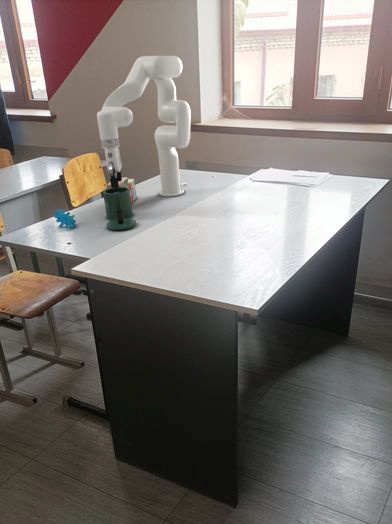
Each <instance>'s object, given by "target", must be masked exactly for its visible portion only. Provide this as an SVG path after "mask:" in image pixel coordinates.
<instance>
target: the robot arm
mask: <svg viewBox="0 0 392 524" xmlns="http://www.w3.org/2000/svg"><path fill="white" fill-rule="evenodd" d="M182 62H183V61H182V60H181V59H180V57H179V56H177V55H142V56H139V57H138V58H137V59H136V60H135V62H134V64H133V66H132V67H131V69H130V71H129V73H128V75H127V77H126V79H125V81H124V83H122V84H121V85H119V86H118V87H117V88H116V89H115V90H113V91H112V92H111V93H110V94H109V95H108V96H107V98H106V99H105V100H104V103H103V105H102V107H101V110H99V111H98V112H97V113H96V121H97V127H98V131H99V138H100V144H101V148H102V149H104V154H105V155H104V156H105V162H106V168H107V172H108V173H109V183H110V182H111V187H112V188H117V187H119V184H118V181H122V178H123V177H122V172H121V170H122V168H123V163H122V157H121V153H120V146H121V144H120V138H119V129H118V128H125V127H129V126H131V124H132V122H133V120H134V114H133V112H132V110H131V109H130V108H128V107H126V106H124V105H126V104H128V103H130V102H133V101H135V100H137V99H139V98H140V97H142V96H143V93H144V91H145V90H146V87H147V86H148V84H149V82H150V80H151V79H153V81H154V83H155V85H156V90H157V117H158V120H159V121H160V122H163V123H171V124H172V123H173V124H176V125H159V126H158V127H157V128H156V129H155V131H154V134H153V135H154V137H153V138H154V143H155V146H156V151H157V156H158V165H159V177H160V185H161V187H160V188H161V190H159V191H158V195H159V196H161V197H169V198H170V197H178V196H181V195H183V194H185V190H184V187H187V186H188V182H187V181H184V182H181V176H180V175H181V174H180V161H179V155H178V151H177V150H176V149H185V148H187V147H188V146H189V144H190V142H191V128H192V127H191V125H192V124H191V123H192V121H191V119H192V112H191V107H190V105H189V103H188V102H187V101H186V100H183V99H177V87H176V85H175V82H174V80H173V79H176V78H178V77H180V76H181V74H182V72H183V63H182Z"/></svg>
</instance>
